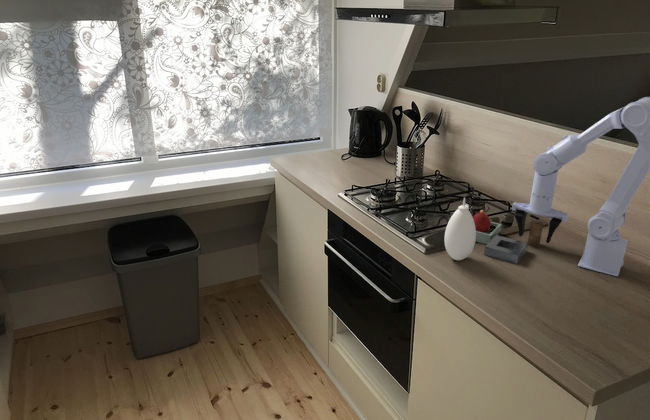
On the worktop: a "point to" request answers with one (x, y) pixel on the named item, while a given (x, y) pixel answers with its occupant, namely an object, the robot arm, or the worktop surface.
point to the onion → (481, 222)
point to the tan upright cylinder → (535, 233)
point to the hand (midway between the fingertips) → (534, 238)
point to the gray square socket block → (506, 249)
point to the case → (488, 237)
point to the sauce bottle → (460, 233)
